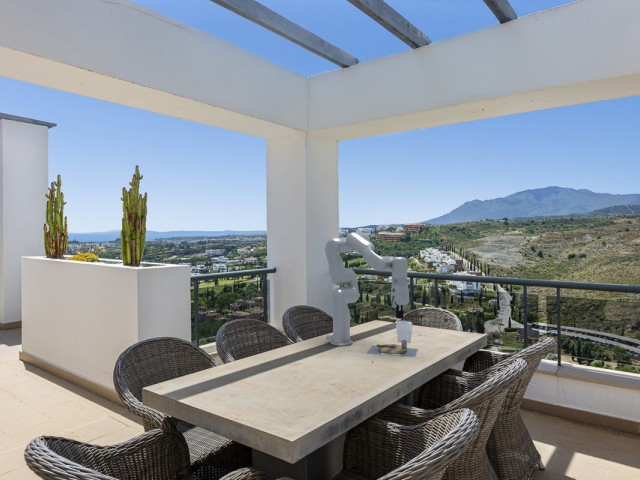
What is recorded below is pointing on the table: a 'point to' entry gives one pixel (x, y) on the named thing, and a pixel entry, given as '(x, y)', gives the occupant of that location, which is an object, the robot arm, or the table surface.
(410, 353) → the blue-grey base board
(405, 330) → the cup
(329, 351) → the table surface
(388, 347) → the crank wheel
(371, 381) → the table surface
